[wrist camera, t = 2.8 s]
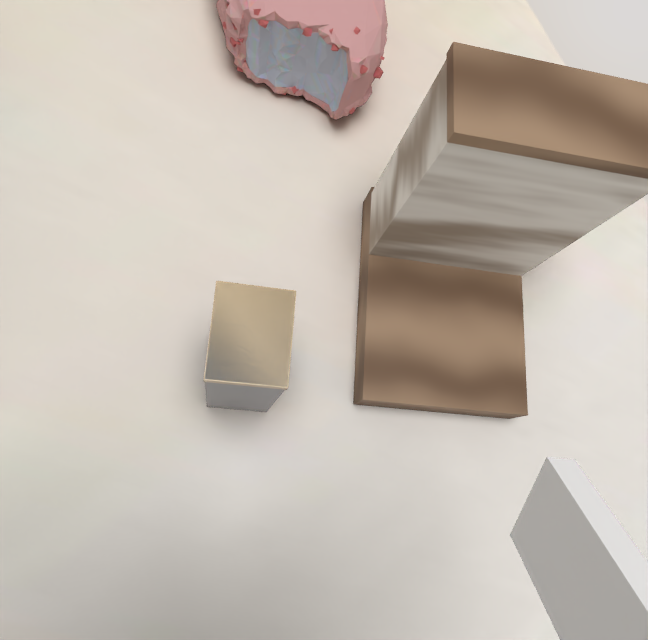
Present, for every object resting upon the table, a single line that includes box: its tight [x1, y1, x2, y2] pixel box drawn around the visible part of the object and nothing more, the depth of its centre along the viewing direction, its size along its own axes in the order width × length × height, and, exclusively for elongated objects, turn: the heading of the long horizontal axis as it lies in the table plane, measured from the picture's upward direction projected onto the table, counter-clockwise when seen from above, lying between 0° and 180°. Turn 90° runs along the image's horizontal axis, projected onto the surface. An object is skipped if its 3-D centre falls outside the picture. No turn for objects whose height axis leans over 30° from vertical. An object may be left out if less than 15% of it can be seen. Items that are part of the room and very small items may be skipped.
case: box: [204, 281, 296, 412], centre depth 32 cm, size 5×4×11 cm
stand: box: [353, 42, 648, 419], centre depth 34 cm, size 16×12×17 cm
